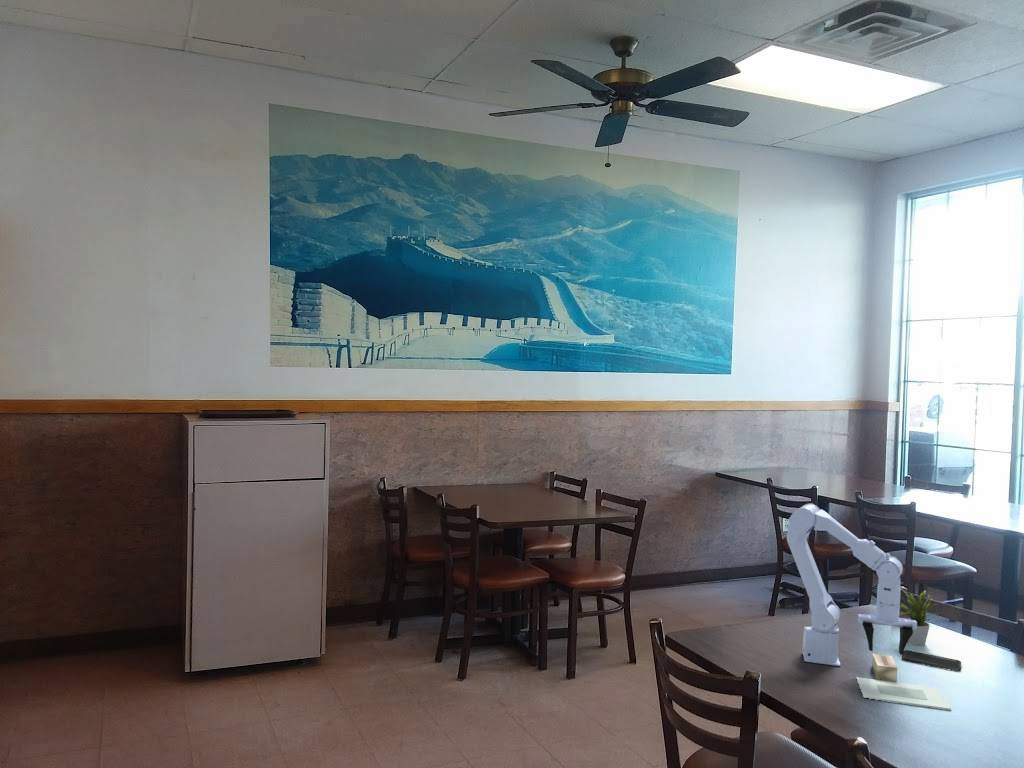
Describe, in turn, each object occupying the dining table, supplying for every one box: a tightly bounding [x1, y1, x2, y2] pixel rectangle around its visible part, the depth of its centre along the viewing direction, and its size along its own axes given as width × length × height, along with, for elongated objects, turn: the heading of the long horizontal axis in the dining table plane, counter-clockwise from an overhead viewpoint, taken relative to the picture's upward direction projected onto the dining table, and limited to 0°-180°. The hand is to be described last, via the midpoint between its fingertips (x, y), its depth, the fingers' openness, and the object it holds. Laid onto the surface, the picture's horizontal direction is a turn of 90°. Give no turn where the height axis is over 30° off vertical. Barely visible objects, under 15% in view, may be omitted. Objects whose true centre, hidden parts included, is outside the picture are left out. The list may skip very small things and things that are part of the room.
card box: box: [871, 653, 899, 682], centre depth 221 cm, size 5×9×4 cm, turn 163°
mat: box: [855, 676, 952, 712], centre depth 208 cm, size 20×13×1 cm, turn 75°
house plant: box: [899, 588, 940, 647], centre depth 247 cm, size 14×14×16 cm
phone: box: [901, 649, 962, 672], centre depth 231 cm, size 8×1×15 cm
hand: (885, 651), depth 220 cm, fingers open, 7 cm apart
